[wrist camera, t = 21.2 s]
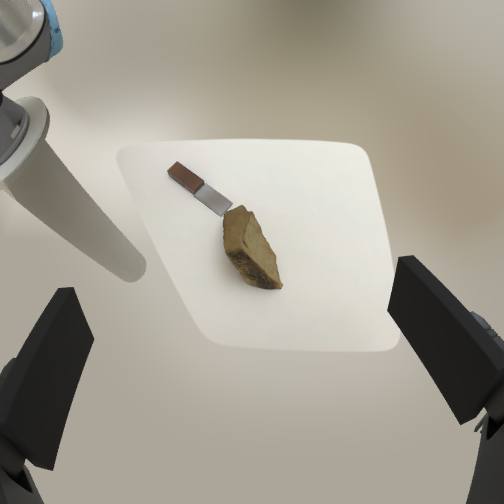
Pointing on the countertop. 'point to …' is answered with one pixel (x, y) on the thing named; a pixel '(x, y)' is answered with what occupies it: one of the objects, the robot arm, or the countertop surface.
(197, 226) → the countertop surface
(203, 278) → the countertop surface
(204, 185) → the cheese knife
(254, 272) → the rock
